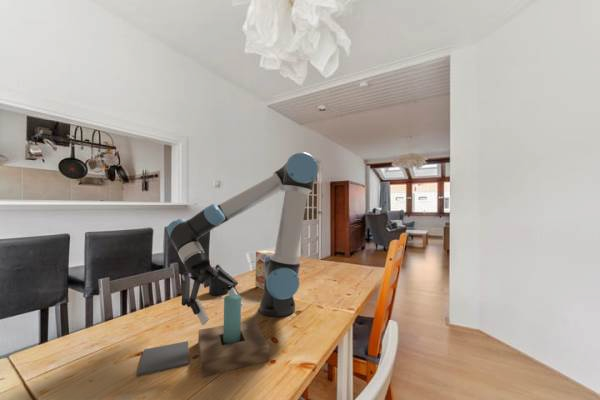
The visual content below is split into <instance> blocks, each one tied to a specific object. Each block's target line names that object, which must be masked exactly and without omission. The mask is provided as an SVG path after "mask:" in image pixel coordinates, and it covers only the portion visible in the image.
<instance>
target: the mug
mask: <svg viewBox="0 0 600 400" xmlns="http://www.w3.org/2000/svg"><path fill="white" fill-rule="evenodd" d="M214 277H215V276H213V278H214ZM208 284H209V285H208V287H209V289H208V295H210V296H213V297H216V296H217V297H220V295H221V296H225V295H226V294H227V295H228V292H229V290H227V289H225V288H223V287H222V286H220V285H218V284H216V283H214V282H213V283H212V282H208ZM224 294H225V295H224Z"/></svg>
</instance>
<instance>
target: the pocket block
mask: <svg viewBox="0 0 600 400" xmlns="http://www.w3.org/2000/svg"><path fill="white" fill-rule="evenodd" d="M223 332H224V325H219V326H213V327H207V328H202V329H198V340H197V342H198V354H199V356H198V357H199V364H200V365H199V366H200V376H201V378H205V377H209V376H212V375H216V373H217V374H220V372H221V373H225V372H228V371H232V370H237V369H241V368H245V367H250V366H253V365H256V364H261V363H264V361H266V362H269V361H270V347H271V346H270V344H269V343H268V341H267V340H266V338H265V336H264V334H263V333H262V330H261V329H260V328H259V326H258V325H257V323H256V322H255V319H252V320H247V321H241V334H240V342H236V343H231V344H226V345H223ZM268 360H269V361H268ZM252 364H253V365H252Z"/></svg>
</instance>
